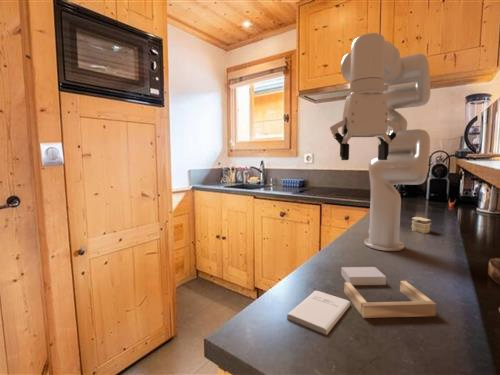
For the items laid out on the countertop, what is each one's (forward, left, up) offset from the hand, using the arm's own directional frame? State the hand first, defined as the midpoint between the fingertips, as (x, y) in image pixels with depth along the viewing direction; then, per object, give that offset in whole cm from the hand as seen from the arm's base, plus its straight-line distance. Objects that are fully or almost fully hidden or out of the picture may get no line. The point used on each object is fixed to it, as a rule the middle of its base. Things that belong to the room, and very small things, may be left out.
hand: (363, 160), depth 68 cm
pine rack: (+13, 0, -31) cm, 33 cm away
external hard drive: (+16, -15, -32) cm, 38 cm away
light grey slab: (+2, 0, -31) cm, 31 cm away
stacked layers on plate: (-42, +44, -31) cm, 69 cm away
